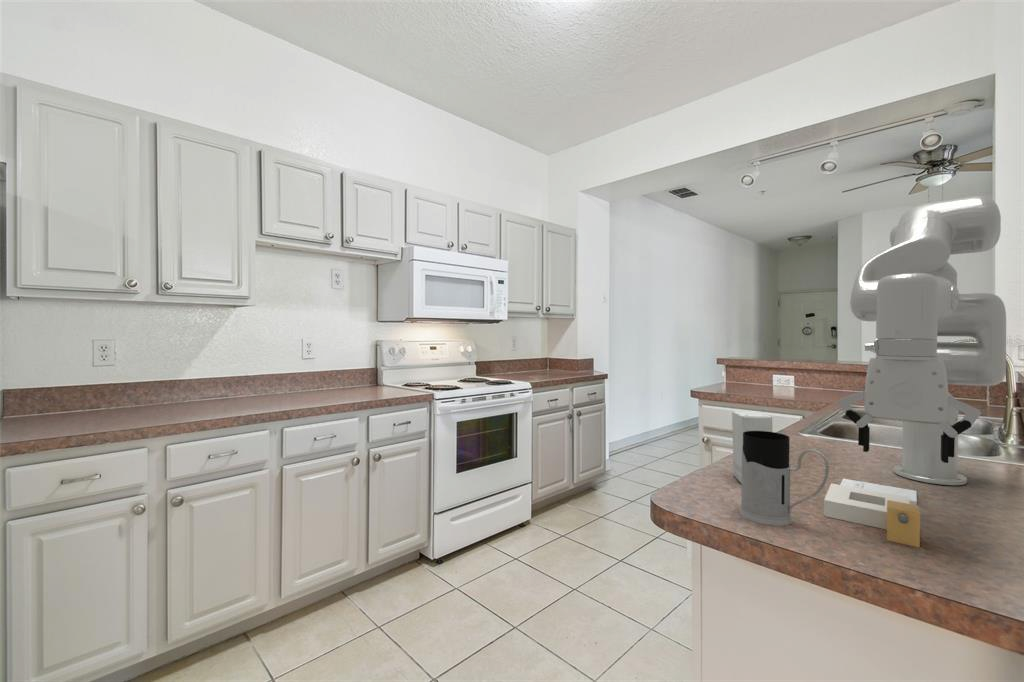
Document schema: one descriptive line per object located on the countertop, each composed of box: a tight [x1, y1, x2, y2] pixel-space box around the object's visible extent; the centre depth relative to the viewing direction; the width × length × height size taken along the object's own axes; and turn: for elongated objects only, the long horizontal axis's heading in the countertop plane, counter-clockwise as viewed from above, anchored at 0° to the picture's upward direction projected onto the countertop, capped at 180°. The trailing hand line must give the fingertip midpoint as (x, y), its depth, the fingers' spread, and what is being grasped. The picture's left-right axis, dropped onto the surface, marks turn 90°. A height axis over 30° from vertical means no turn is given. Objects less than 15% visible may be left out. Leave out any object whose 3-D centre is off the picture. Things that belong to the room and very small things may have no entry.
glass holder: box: [738, 431, 830, 527], centre depth 82 cm, size 9×14×15 cm, turn 41°
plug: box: [886, 500, 921, 548], centre depth 74 cm, size 6×4×6 cm
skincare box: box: [731, 410, 773, 485], centre depth 103 cm, size 8×7×16 cm
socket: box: [823, 482, 910, 531], centre depth 84 cm, size 12×12×3 cm
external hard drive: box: [839, 478, 918, 505], centre depth 96 cm, size 2×8×12 cm
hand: (903, 455), depth 74 cm, fingers open, 9 cm apart
